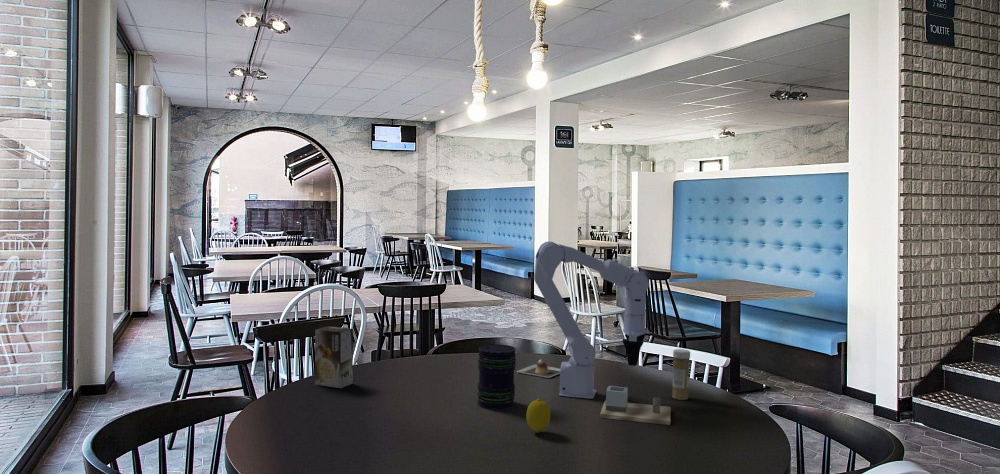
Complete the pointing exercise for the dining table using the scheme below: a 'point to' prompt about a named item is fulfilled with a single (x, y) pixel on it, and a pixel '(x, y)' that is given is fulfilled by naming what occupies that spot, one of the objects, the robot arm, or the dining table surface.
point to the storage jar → (496, 377)
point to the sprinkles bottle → (681, 374)
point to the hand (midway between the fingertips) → (633, 362)
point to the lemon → (538, 415)
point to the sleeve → (616, 398)
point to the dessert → (539, 369)
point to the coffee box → (333, 356)
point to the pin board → (641, 413)
